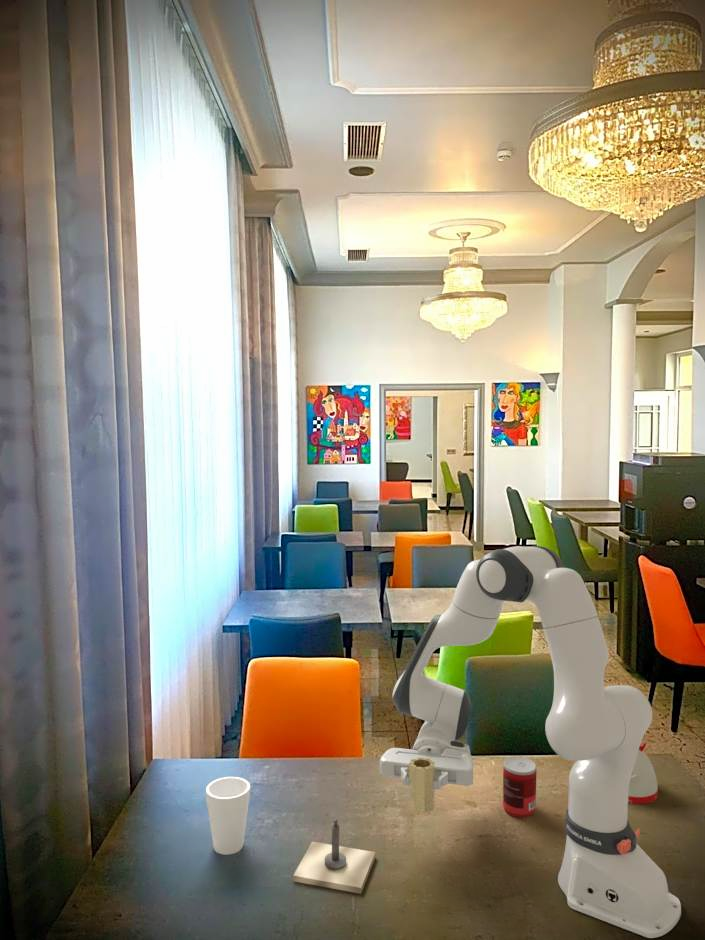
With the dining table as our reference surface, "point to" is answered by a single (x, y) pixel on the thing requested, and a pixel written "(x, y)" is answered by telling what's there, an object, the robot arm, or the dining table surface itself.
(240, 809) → the foam cup
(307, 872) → the shaft stand
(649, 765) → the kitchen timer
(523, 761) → the canned food
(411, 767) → the collar
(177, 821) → the dining table surface
